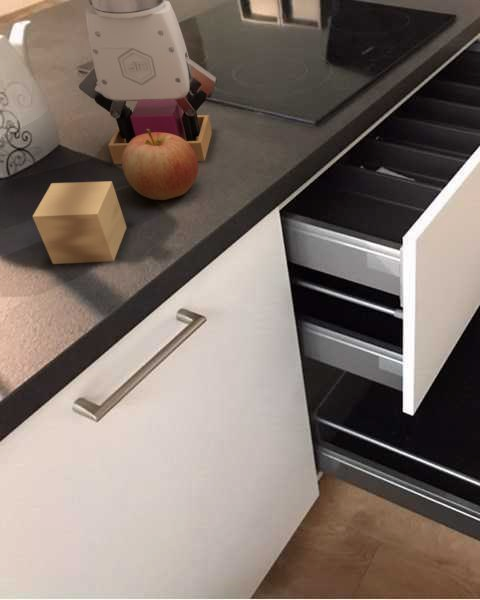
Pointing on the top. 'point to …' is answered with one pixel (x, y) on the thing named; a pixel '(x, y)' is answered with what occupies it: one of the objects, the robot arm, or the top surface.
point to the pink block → (158, 117)
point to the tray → (198, 145)
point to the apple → (159, 165)
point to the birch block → (80, 222)
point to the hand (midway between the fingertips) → (162, 140)
